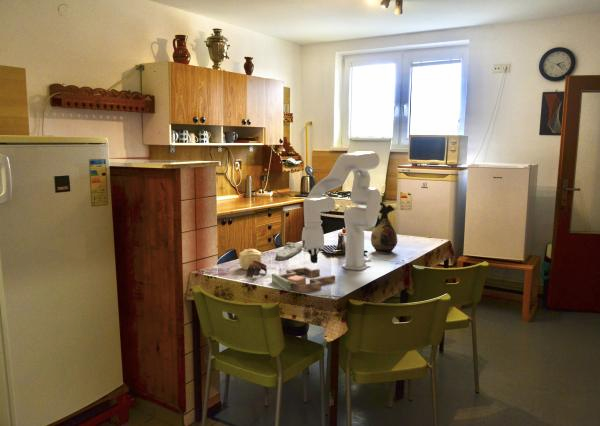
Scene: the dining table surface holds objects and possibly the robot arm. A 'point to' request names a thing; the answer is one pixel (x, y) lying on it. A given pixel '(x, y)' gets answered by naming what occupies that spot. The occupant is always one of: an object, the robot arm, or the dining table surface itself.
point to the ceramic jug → (384, 232)
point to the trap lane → (303, 272)
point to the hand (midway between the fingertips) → (314, 262)
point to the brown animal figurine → (256, 268)
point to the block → (297, 279)
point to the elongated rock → (289, 251)
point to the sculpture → (249, 257)
